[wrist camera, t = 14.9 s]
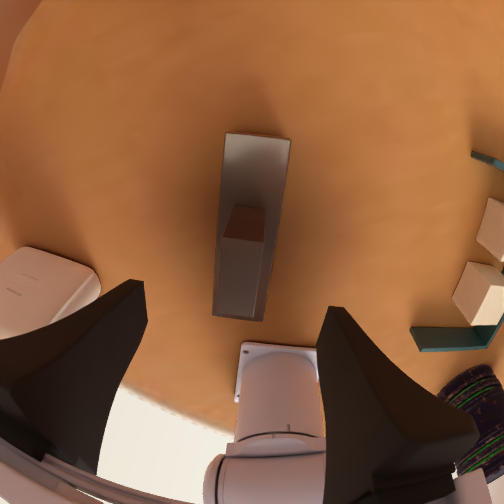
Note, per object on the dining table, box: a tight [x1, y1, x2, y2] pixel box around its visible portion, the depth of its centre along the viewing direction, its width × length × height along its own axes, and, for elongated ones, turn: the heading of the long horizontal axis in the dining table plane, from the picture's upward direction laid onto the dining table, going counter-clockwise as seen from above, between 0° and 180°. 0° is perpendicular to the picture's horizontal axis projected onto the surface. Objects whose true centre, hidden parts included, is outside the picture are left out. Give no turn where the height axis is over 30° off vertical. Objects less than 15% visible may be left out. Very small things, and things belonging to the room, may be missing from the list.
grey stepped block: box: [212, 131, 291, 322], centre depth 17 cm, size 12×4×8 cm, turn 174°
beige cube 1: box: [452, 262, 504, 325], centre depth 20 cm, size 4×4×4 cm
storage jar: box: [437, 364, 504, 484], centre depth 22 cm, size 10×10×15 cm
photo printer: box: [0, 247, 101, 340], centre depth 18 cm, size 10×4×12 cm, turn 76°
